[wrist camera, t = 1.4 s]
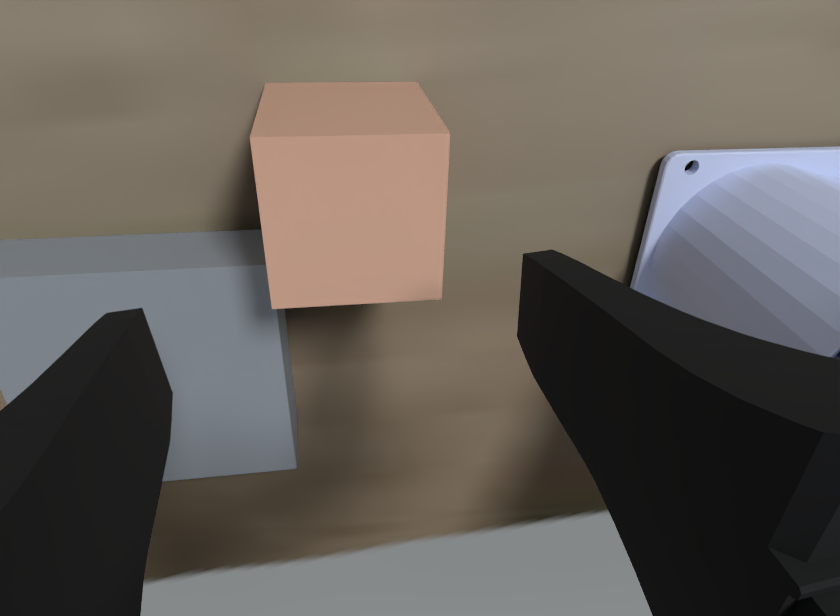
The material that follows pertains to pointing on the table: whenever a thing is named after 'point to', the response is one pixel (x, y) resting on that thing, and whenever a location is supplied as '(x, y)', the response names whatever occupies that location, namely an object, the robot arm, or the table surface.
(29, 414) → the robot arm
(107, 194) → the table surface
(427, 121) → the terracotta cube
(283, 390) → the slate block
